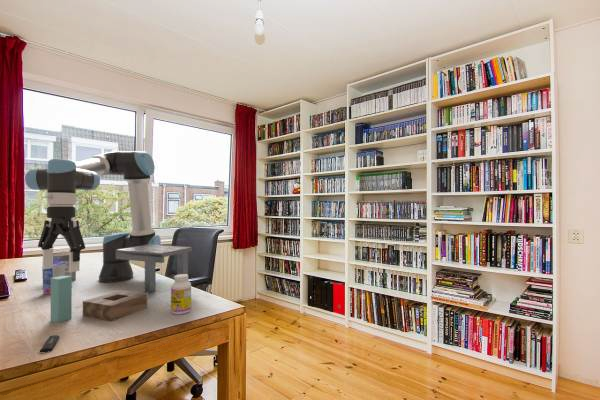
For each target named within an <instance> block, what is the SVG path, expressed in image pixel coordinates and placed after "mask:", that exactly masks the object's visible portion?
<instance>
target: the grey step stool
mask: <svg viewBox="0 0 600 400" xmlns="http://www.w3.org/2000/svg"><path fill="white" fill-rule="evenodd" d="M192 249H193V247H192V246H176V245H163V244H162V245H161V244H160V245H144V246H137V247H131V248H124V249H118V250H116V259H123V260H129V261H135V262H144V293H152V292H156V286H157V285H156V284H157V283H156V281H157V280H156V278H157V277H156V273H157V272H156V271H157V270H156V263H159V264H163V263H165V258H166V257H171V256H174V255H176V257H177V259H176V260H177V261H176V265H177V266H176V270H177V271H176V275H179V274H187V275H188V276H189V252H192V251H193V250H192Z"/></svg>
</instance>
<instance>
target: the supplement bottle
mask: <svg viewBox="0 0 600 400" xmlns="http://www.w3.org/2000/svg"><path fill="white" fill-rule="evenodd" d="M173 280H174V282H173V283H172V284H171V286H170V312H171V314H173V315H179V316H180V315H185V314H187V313H189V312H190V311H191V310H192V283H191V282H190V281H189V274H188V275H187V274H179V275H177V274H176V275H173Z"/></svg>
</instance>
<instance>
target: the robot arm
mask: <svg viewBox="0 0 600 400" xmlns="http://www.w3.org/2000/svg"><path fill="white" fill-rule="evenodd" d="M154 173H155V162H154V159H153V157H152V156H151V154H150V153H148V152H147V151H140V150H134V151H133V150H132V151H131V150H130V151H129V150H128V151H126V150H125V151H123V150H122V151H120V150H115V151H109V152H105V153H101V154H97V155H93V156H91V157H90V158H89V159H85V160H81V161H74V160H72V159H65V158H52V159H49V160H48V162H47V168H44V169H43V168H42V169H40V168H37V169H30V170H28V171H27V172H26V173H25V175H24V181H25V184H26V186H27V187H28V188H29V189H31V190H33V191H34V190H35V191H47V193H46V200H47V201H46V204H47V205H48V206H47V207H46V217H47V218H48V220H47V219H46V220H44V223H43V224H44V225H43V229H42V231H41V236H40V238H39V241H38V244H37V247H38V248H41V250H42V266H43V269H50V268H53V254H54V244H55V243H56V240H57V239H58V237H59V235H61V236H63V237H64V239H65V242H66V243H67V245H68V247H69V249H70V250H69V251H68V252H69V272H70V273H71V272H76V273H77V272H79V271H80V260H81V251H82V250H85V249H86V244H85V241H84V238H83V235H82V232H81V228H80V222H79V220H72V219H73V218H75V217H76V207H75V205H76V204H77V203H76V202H77V199H76V197H77V194H76V193H77V192H76V191H87V192H88V191H94V190H96V189H97V188H98V187H99V186H100V185H101V178H100V177H103V176H123V181H125V182H127V185H128V186H127V187H128V196H129V197H128V198H129V207H130V216H131V217H130V218H131V228H132V230H131V231H130V232H129V231H128V232H119V233H113V234H108V235H107V234H106V235H105V236H104V237H103V241H102V267H101V269H100V273H99V275H98V281H99V282H101V283H114V282H115V283H116V282H121V281H127V280H130V279H133V278H134V271H133V267H132V266H131V262H130V260H123V259H116V250H118V249H124V248H131V247H137V246H144V245H161V240H162V239H161V237H160V235H159V234H156V231H155V230H156V229H154V228H153V227H152V220H151V208H150V207H151V206H150V196H149V195H150V194H149V186H148V185H149V184H148V182H149V181H150V180H151V176H153V174H154ZM49 219H50V220H49Z"/></svg>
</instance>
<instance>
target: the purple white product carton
mask: <svg viewBox="0 0 600 400" xmlns="http://www.w3.org/2000/svg"><path fill="white" fill-rule="evenodd" d="M53 258H59V260H60V262H63V261H65V262H69V251H68V252H67V251H66V252H65V251H63V252H57V253H53ZM53 261H58V260H56V259H55V260H53ZM76 277H77V271H76V272H72V282H74V281H76V279H77V278H76Z"/></svg>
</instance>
